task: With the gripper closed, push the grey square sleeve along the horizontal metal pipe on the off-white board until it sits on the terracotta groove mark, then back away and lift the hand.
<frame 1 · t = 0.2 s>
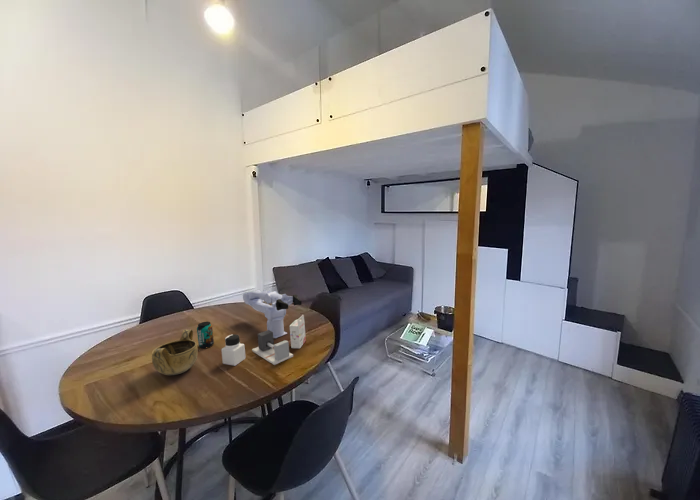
hand: (294, 304, 142), 21 cm above the table, tool horizontal, fingers open, 7 cm apart
ink cartridge box: (298, 344, 145), on the table
pipe stand: (272, 353, 136), on the table
beverage can: (206, 346, 147), on the table
ceramic bowl: (177, 371, 124), on the table
medicine bottle: (234, 361, 131), on the table
grey square sleeve: (265, 340, 139), point 5 cm above the table, slide at 0.0 cm
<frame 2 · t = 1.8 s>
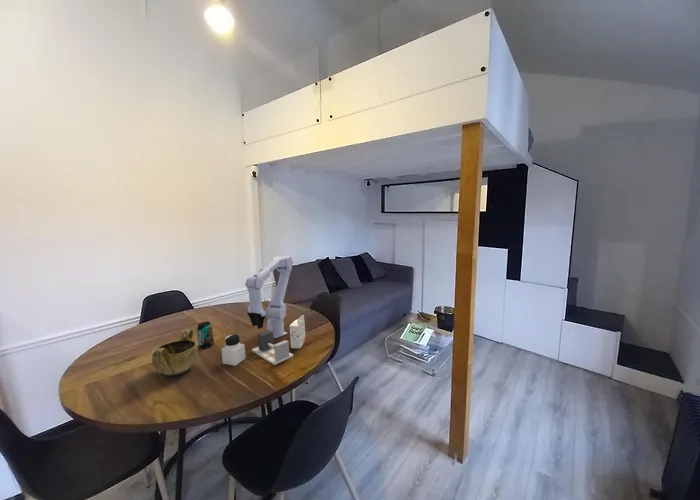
hand: (257, 326, 143), 10 cm above the table, tool pointing down, fingers open, 5 cm apart
nothing on the table moved.
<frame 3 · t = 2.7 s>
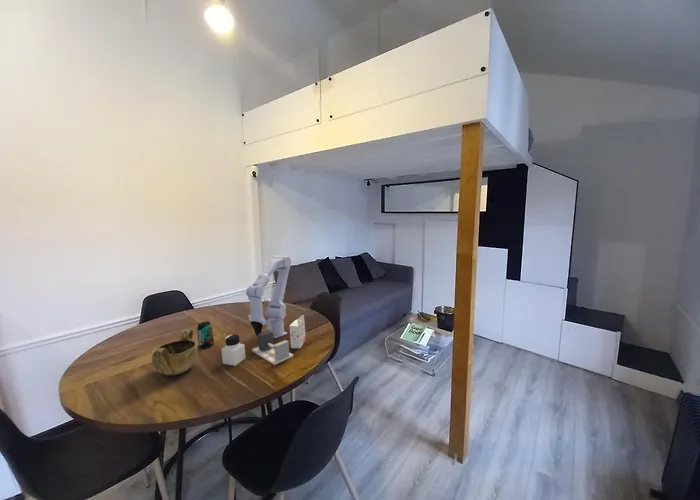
hand: (258, 335, 144), 6 cm above the table, tool pointing down, fingers closed
nothing on the table moved.
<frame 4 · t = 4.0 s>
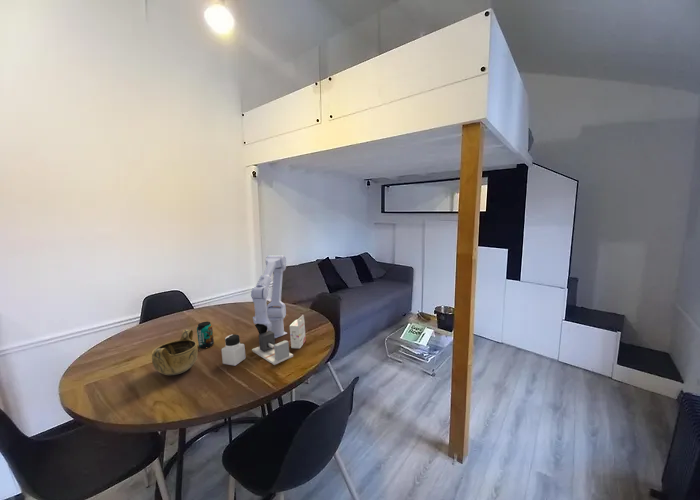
hand: (263, 337, 141), 6 cm above the table, tool pointing down, fingers closed
grey square sleeve: (267, 341, 138), point 5 cm above the table, slide at 1.1 cm, touching gripper
everything else where it was.
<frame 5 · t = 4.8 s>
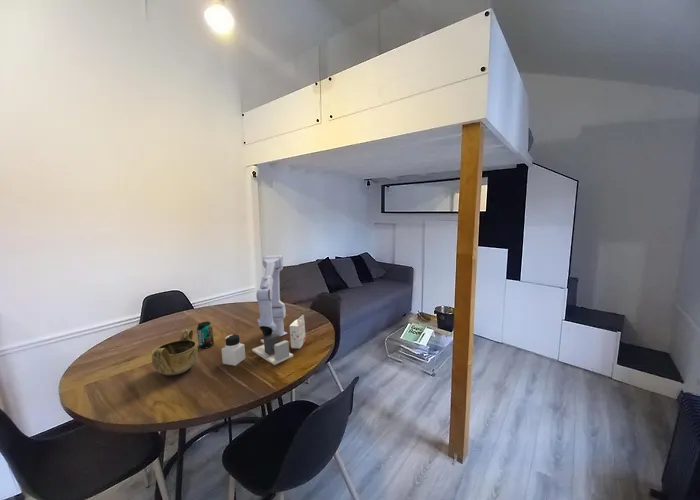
hand: (268, 340, 137), 6 cm above the table, tool pointing down, fingers closed
grey square sleeve: (272, 343, 135), point 5 cm above the table, slide at 5.8 cm, touching gripper
everything else where it was.
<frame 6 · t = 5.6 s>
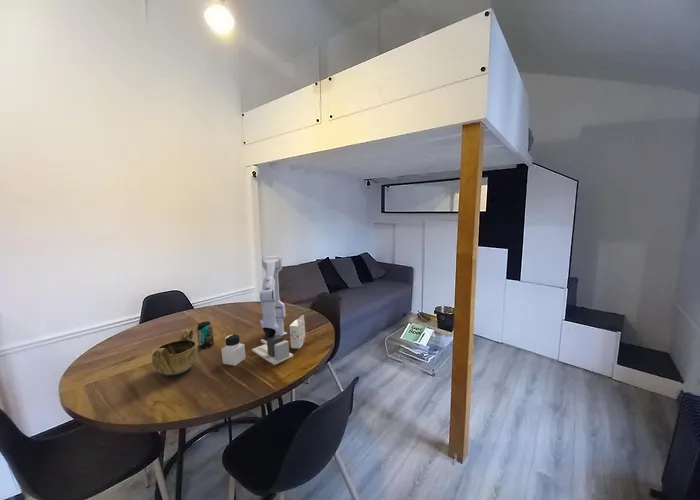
hand: (271, 341, 136), 6 cm above the table, tool pointing down, fingers closed
grey square sleeve: (275, 345, 133), point 5 cm above the table, slide at 8.5 cm, touching gripper
everything else where it was.
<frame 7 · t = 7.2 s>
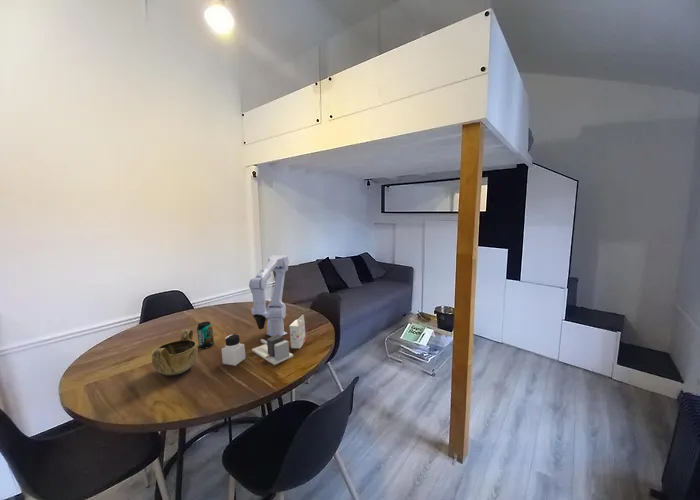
hand: (261, 328, 141), 10 cm above the table, tool pointing down, fingers closed
grey square sleeve: (275, 345, 133), point 5 cm above the table, slide at 8.5 cm
everything else where it was.
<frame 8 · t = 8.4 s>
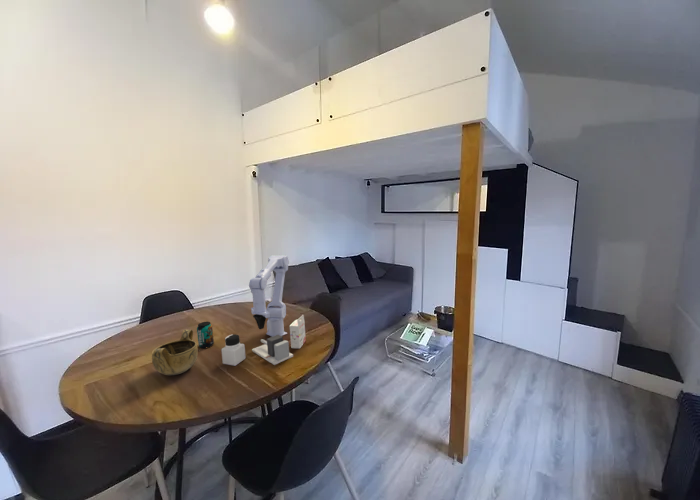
hand: (261, 328, 141), 10 cm above the table, tool pointing down, fingers closed
nothing on the table moved.
at the end: grey square sleeve slide at 8.5 cm; the gripper is holding nothing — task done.
